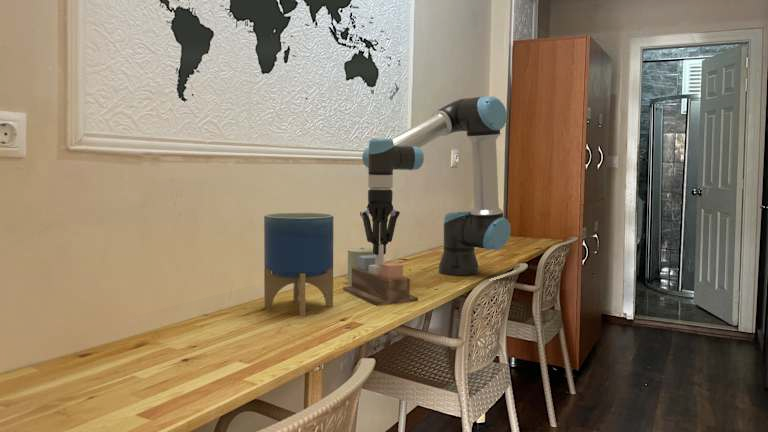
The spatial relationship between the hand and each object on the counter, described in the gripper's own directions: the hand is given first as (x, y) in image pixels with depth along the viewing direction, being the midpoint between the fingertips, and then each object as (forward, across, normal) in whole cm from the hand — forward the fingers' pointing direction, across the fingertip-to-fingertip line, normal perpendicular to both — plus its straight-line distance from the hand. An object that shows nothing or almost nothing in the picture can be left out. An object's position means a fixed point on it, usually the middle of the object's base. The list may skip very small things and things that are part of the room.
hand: (379, 264), depth 191 cm
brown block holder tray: (+10, 0, 0) cm, 10 cm away
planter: (+10, +28, +5) cm, 30 cm away
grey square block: (+5, 0, -8) cm, 9 cm away
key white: (+7, 0, 0) cm, 7 cm away
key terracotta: (+5, 0, +8) cm, 9 cm away
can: (+10, -3, -20) cm, 22 cm away
